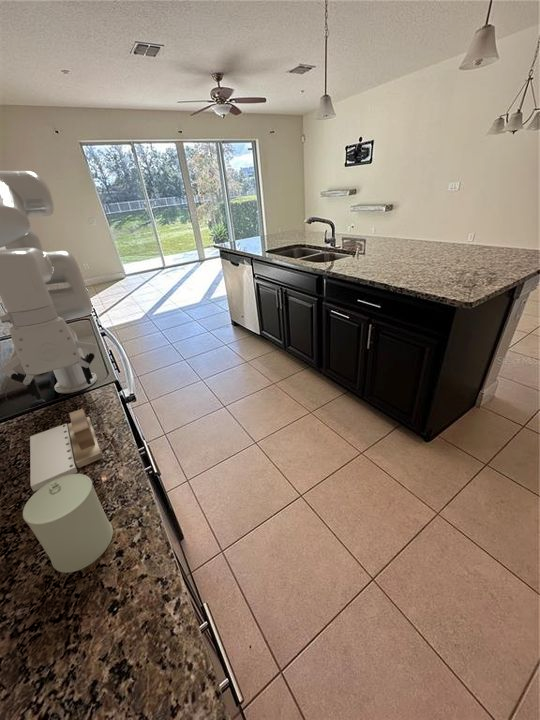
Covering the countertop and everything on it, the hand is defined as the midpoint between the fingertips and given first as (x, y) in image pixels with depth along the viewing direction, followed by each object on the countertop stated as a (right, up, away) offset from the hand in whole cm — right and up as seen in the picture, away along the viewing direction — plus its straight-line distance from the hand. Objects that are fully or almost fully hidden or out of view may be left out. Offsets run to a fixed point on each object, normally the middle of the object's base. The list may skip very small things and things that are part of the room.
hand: (65, 389), depth 68 cm
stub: (0, -14, +7) cm, 15 cm away
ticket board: (-5, -16, +4) cm, 17 cm away
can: (+14, -25, -17) cm, 33 cm away
